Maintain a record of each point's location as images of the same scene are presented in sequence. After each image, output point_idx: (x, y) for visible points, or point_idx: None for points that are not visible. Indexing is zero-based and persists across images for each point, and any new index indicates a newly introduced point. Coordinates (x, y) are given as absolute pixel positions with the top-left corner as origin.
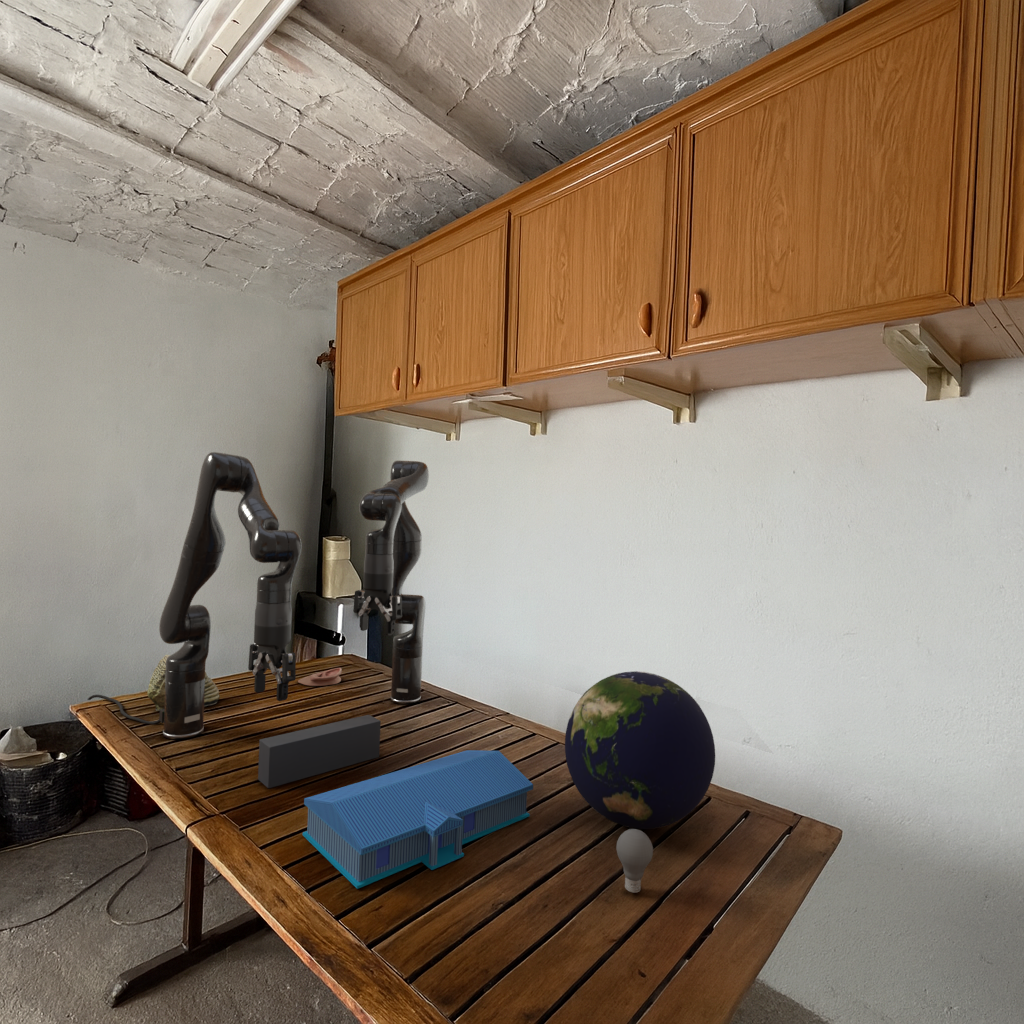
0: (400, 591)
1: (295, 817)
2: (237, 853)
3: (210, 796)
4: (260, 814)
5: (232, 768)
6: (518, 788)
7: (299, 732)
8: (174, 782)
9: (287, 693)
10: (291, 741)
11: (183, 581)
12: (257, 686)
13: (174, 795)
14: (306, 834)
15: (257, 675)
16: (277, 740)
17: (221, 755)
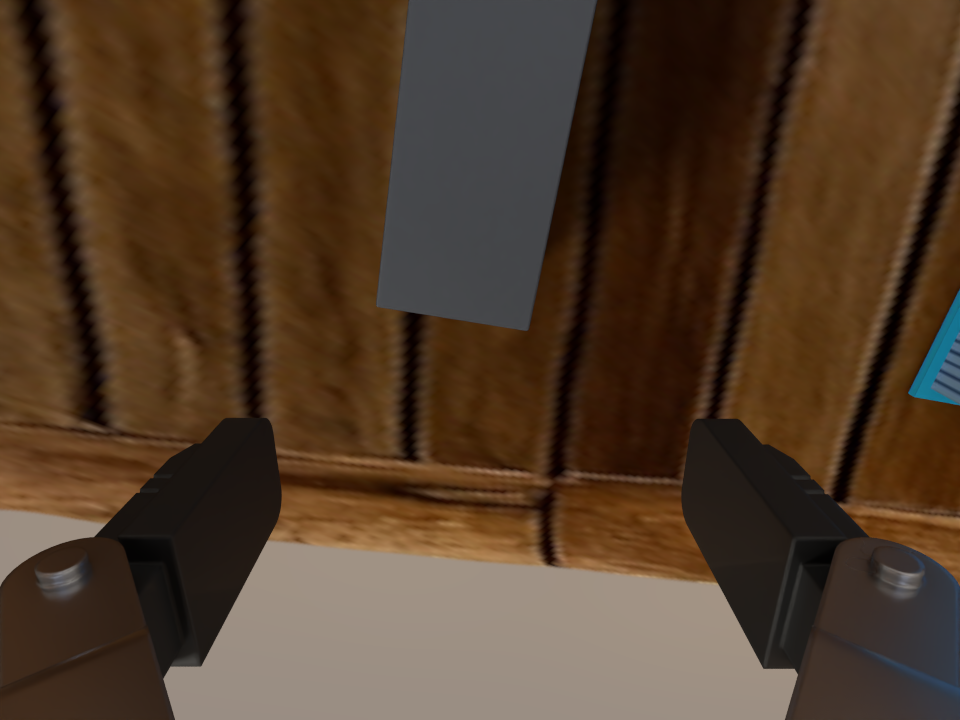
0: None
1: (790, 336)
2: None
3: (413, 444)
4: (668, 402)
5: (222, 271)
6: None
7: (445, 45)
8: None
9: (803, 477)
10: (545, 188)
11: None
12: (257, 541)
13: (321, 513)
14: (935, 395)
15: (173, 649)
16: (467, 241)
17: (42, 231)
